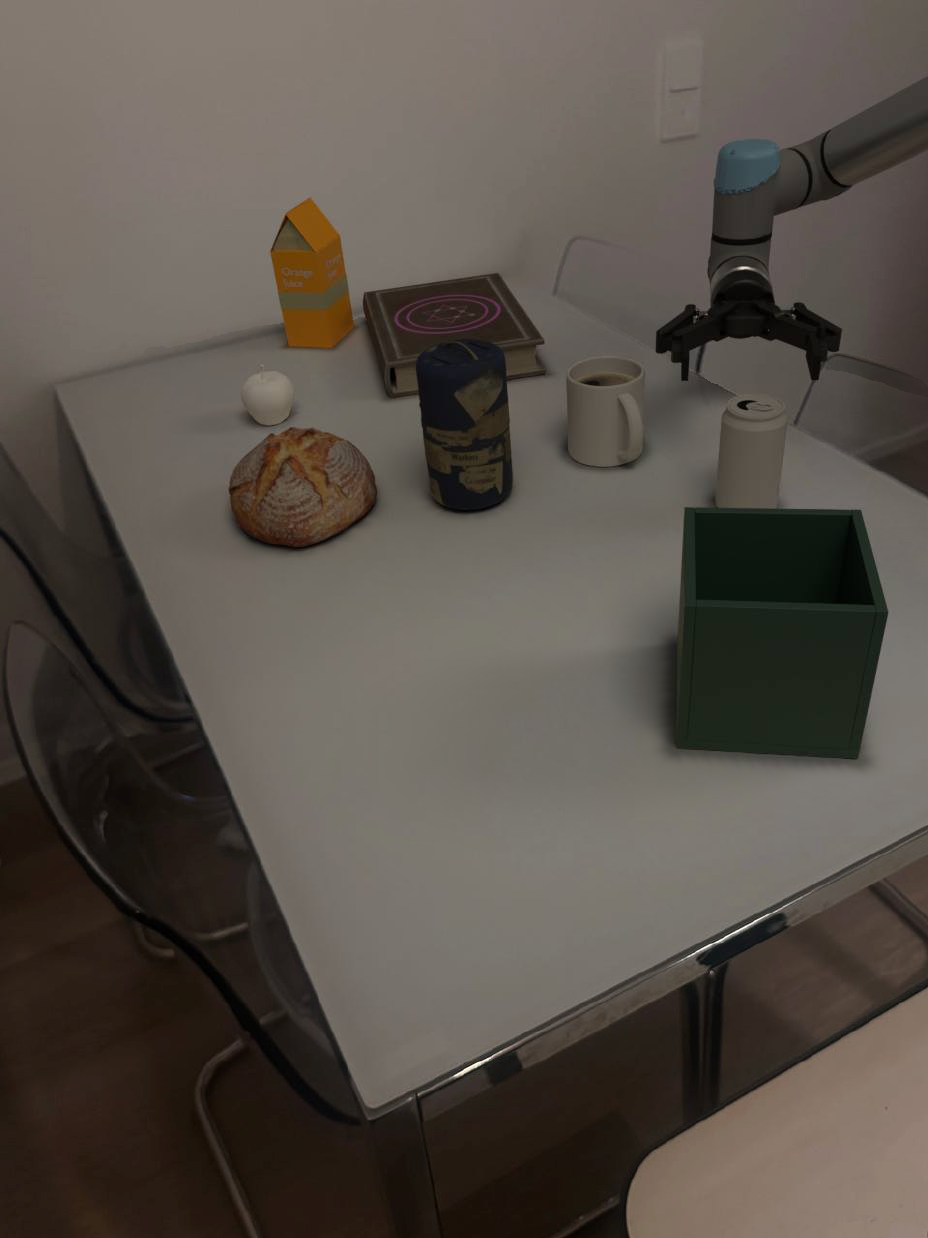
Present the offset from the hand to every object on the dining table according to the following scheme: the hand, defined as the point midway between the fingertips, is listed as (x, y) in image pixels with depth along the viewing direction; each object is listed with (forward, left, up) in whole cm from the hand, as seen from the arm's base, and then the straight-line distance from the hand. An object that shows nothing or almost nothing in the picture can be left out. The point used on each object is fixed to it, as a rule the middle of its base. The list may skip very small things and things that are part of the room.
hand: (750, 368), depth 107 cm
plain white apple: (+62, -3, -12) cm, 63 cm away
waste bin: (-5, +40, -12) cm, 42 cm away
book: (+46, -30, -12) cm, 56 cm away
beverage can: (-1, +10, -12) cm, 15 cm away
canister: (+29, +12, -12) cm, 33 cm away
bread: (+47, +18, -12) cm, 51 cm away
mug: (+16, 0, -12) cm, 20 cm away
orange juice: (+68, -32, -12) cm, 76 cm away
